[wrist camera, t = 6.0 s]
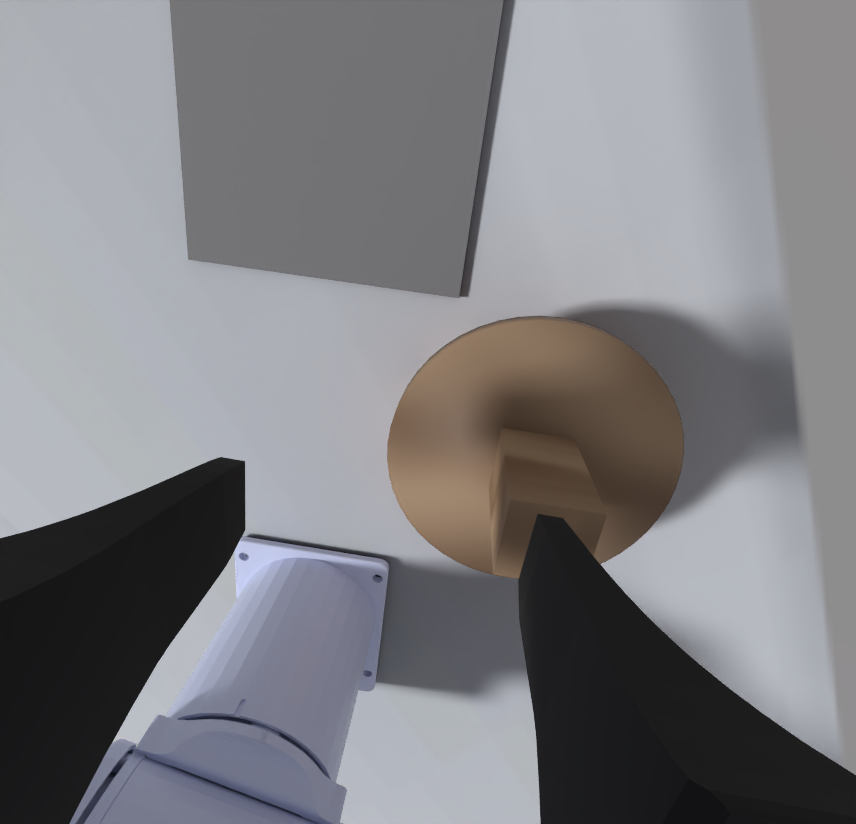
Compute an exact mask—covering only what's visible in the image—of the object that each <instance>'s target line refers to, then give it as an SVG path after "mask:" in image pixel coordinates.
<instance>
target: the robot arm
mask: <svg viewBox="0 0 856 824" xmlns="http://www.w3.org/2000/svg"><path fill="white" fill-rule="evenodd" d="M244 531H245V461H240V460H234V459H228V458H223V457H220V458H217V459H214V460H211V461H209V462H206V463H204V464H202V465H199V466H197V467H195V468H192V469H190V470H188V471H186V472H183V473H181V474H179V475H177V476H174V477H172V478H170V479H167V480H165V481H163V482H161V483H158V484H156V485H154V486H152V487H149V488H147V489H145V490H142V491H140V492H137V493H135V494H132V495H130V496H127V497H125V498H122V499H120V500H117V501H115V502H112V503H110V504H107V505H105V506H102V507H100V508H97V509H95V510H92V511H89V512H86V513H84V514H81V515H78V516H75V517H72V518H69V519H66V520H63V521H60V522H56V523H53V524H50V525H47V526H44V527H41V528H37V529H34V530H30V531H27V532H23V533H19V534H15V535H12V536H8V537H4V538H0V824H342V823H340V819H341V814H342V809H343V805H344V800H345V796H346V791H347V790H346V788H345V787H343V786H341V785H339V784H337V783H336V779H337V775H338V771H339V767H340V763H341V759H342V755H343V751H344V747H345V743H346V738H347V734H348V730H349V726H350V722H351V718H352V714H353V710H354V706H355V702H356V697H357V693H358V690H362V691H371V690H373V689H374V687H375V683H376V675H377V667H378V658H379V650H380V641H381V633H382V625H383V616H384V608H385V599H386V591H387V582H388V574H389V565H388V563H387V562H386V561H385V560H383V559H379V558H373V557H366V556H360V555H354V554H348V553H342V552H336V551H330V550H324V549H317V548H311V547H305V546H299V545H293V544H287V543H281V542H275V541H268V540H262V539H256V538H250V537H242V535H243V533H244ZM234 551H235V571H236V593H237V600H236V602H235V603H234V605H233V607H232V608H231V610H230V611H229V613H228V615H227V616H226V618H225V620H224V621H223V623H222V624H221V626H220V628H219V629H218V631H217V633H216V634H215V636H214V638H213V639H212V641H211V642H210V644H209V646H208V647H207V649H206V651H205V652H204V654H203V656H202V657H201V659H200V660H199V662H198V664H197V665H196V667H195V669H194V670H193V672H192V673H191V675H190V677H189V678H188V680H187V682H186V683H185V685H184V687H183V688H182V690H181V691H180V693H179V695H178V696H177V698H176V700H175V701H174V703H173V704H172V706H171V708H170V709H169V711H168V713H167V714H166V716H163V715H157V716H156V717H155V719H154V720H153V722H152V723H151V725H150V727H149V728H148V730H147V731H146V733H145V735H144V736H143V738H142V739H141V741H140V742H139V744H138V746H137V747H136V744H135V743H133V742H130V741H127V740H125V739H119V740H117V741H115V742H113V740H114V738H115V736H116V735H117V733H118V731H119V729H120V727H121V726H122V724H123V722H124V720H125V718H126V716H127V715H128V713H129V711H130V709H131V707H132V706H133V704H134V702H135V701H136V699H137V697H138V695H139V694H140V692H141V690H142V689H143V687H144V685H145V683H146V682H147V680H148V678H149V677H150V675H151V673H152V671H153V670H154V668H155V666H156V665H157V663H158V661H159V660H160V658H161V657H162V655H163V654H164V652H165V651H166V649H167V648H168V646H169V645H170V643H171V642H172V641H173V639H174V638H175V636H176V635H177V634H178V632H179V631H180V630H181V628H182V627H183V625H184V624H185V623H186V621H187V620H188V618H189V617H190V616H191V614H192V613H193V612H194V610H195V609H196V607H197V606H198V605H199V603H200V602H201V600H202V599H203V598H204V596H205V595H206V594H207V592H208V591H209V589H210V588H211V586H212V585H213V584H214V582H215V581H216V579H217V578H218V577H219V575H220V574H221V572H222V571H223V569H224V568H225V567H226V565H227V563H228V561H229V560H230V558H231V556H232V554H233V552H234ZM243 553H246V554H247V555H248V556H247V555H244V554H243ZM375 575H380V576H381V577H376V576H375ZM519 619H520V626H521V633H522V640H523V647H524V653H525V660H526V666H527V673H528V679H529V686H530V692H531V699H532V705H533V712H534V720H535V729H536V739H537V757H538V774H539V793H540V817H541V824H856V775H854V774H853V773H851V772H850V771H848V770H846V769H845V768H843V767H842V766H840V765H839V764H837V763H835V762H834V761H832V760H831V759H829V758H828V757H826V756H824V755H823V754H821V753H820V752H818V751H817V750H815V749H813V748H812V747H810V746H809V745H807V744H806V743H804V742H802V741H801V740H800V739H798V738H797V737H795V736H794V735H792V734H791V733H789V732H788V731H787V730H785V729H784V728H782V727H781V726H779V725H778V724H777V723H775V722H774V721H772V720H771V719H770V718H768V717H767V716H765V715H764V714H763V713H761V712H760V711H758V710H757V709H756V708H754V707H753V706H752V705H750V704H749V703H748V702H746V701H745V700H744V699H742V698H741V697H740V696H738V695H737V694H736V693H734V692H733V691H732V690H730V689H729V688H728V687H727V686H725V685H724V684H723V683H722V682H720V681H719V680H718V679H717V678H715V677H714V676H713V675H712V674H711V673H709V672H708V671H707V670H706V669H704V668H703V667H702V666H701V665H699V664H698V663H697V662H696V661H695V660H694V659H692V658H691V657H690V656H689V655H688V654H687V653H685V652H684V651H683V650H682V649H681V648H680V647H679V646H678V645H677V644H676V643H675V642H673V641H672V640H671V639H670V638H669V637H668V636H667V635H666V634H665V633H664V632H663V631H662V630H661V629H659V628H658V627H657V626H656V625H655V624H654V623H653V622H652V621H651V620H650V619H649V618H648V617H647V616H646V615H645V614H644V613H643V612H642V611H641V610H640V609H639V607H638V606H637V605H636V604H635V603H634V602H633V601H632V600H631V599H630V598H629V597H628V596H627V595H626V594H625V593H624V591H623V590H622V589H621V588H620V587H619V586H618V585H617V584H616V582H615V581H614V580H613V579H612V578H611V577H610V575H609V574H608V573H607V572H606V571H605V570H604V568H603V567H602V566H601V565H600V564H599V562H598V561H597V560H596V559H595V557H594V556H593V555H592V554H591V552H590V551H589V550H588V549H587V547H586V546H585V545H584V544H583V542H582V541H581V540H580V539H579V537H578V536H577V535H576V534H575V532H574V531H573V530H572V528H571V527H570V526H569V525H568V524H567V522H566V521H565V520H564V519H563V518H559V517H554V516H548V515H543V514H537V517H536V521H535V524H534V528H533V531H532V535H531V538H530V541H529V545H528V548H527V552H526V555H525V559H524V562H523V566H522V569H521V572H520V576H519ZM367 670H368V671H367ZM112 742H113V743H112Z"/></svg>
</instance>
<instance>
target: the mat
mask: <svg viewBox="0 0 856 824" xmlns="http://www.w3.org/2000/svg"><path fill="white" fill-rule="evenodd" d="M503 1H504V0H170V11H171V25H172V39H173V53H174V66H175V80H176V94H177V108H178V122H179V136H180V150H181V164H182V178H183V192H184V206H185V220H186V234H187V247H188V259H189V260H196V261H203V262H210V263H217V264H224V265H231V266H238V267H245V268H252V269H259V270H266V271H273V272H280V273H287V274H294V275H301V276H308V277H315V278H322V279H329V280H336V281H343V282H350V283H357V284H364V285H371V286H378V287H385V288H392V289H399V290H406V291H413V292H420V293H427V294H434V295H441V296H448V297H455V298H459V296H460V289H461V282H462V276H463V269H464V262H465V255H466V249H467V242H468V235H469V229H470V222H471V215H472V209H473V202H474V195H475V189H476V182H477V175H478V168H479V162H480V155H481V148H482V142H483V135H484V128H485V122H486V115H487V108H488V102H489V95H490V88H491V81H492V75H493V68H494V61H495V55H496V48H497V41H498V35H499V28H500V21H501V15H502V8H503Z"/></svg>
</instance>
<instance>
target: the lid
mask: <svg viewBox="0 0 856 824" xmlns="http://www.w3.org/2000/svg"><path fill="white" fill-rule="evenodd" d="M683 455H684V436H683V430H682V424H681V418H680V415H679V412H678V409H677V406H676V403H675V401H674V399H673V397H672V395H671V393H670V391H669V389H668V387H667V385H666V384H665V383H664V381H663V380H662V379H661V377H660V376H659V375H658V373H657V372H656V371H655V369H654V368H653V367H652V366H651V365H650V364H649V363H648V362H647V361H646V360H645V359H644V358H642V357H641V356H640V355H639V354H638V353H637V352H636V351H635V350H634V349H632V348H631V347H630V346H628V345H627V344H625V343H624V342H623V341H621V340H620V339H619V338H617V337H615V336H613V335H611V334H609V333H607V332H606V331H604V330H602V329H600V328H597V327H594V326H591V325H589V324H586V323H583V322H580V321H575V320H570V319H566V318H561V317H548V316H528V317H516V318H511V319H505V320H499V321H496V322H493V323H490V324H487V325H483V326H480V327H478V328H476V329H473V330H471V331H469V332H467V333H465V334H463V335H461V336H459V337H457V338H456V339H454V340H453V341H451V342H450V343H448V344H446V345H445V346H444V347H442V348H441V349H440V350H439V351H438V352H436V353H435V354H434V355H433V356H432V357H430V358H429V359H428V360H427V362H426V363H425V364H424V365H423V366H422V367H421V368H420V369H419V370H418V371H417V373H416V374H415V376H414V377H413V379H412V380H411V381H410V383H409V384H408V386H407V388H406V390H405V392H404V394H403V396H402V398H401V400H400V402H399V404H398V407H397V409H396V412H395V415H394V418H393V421H392V424H391V428H390V433H389V439H388V453H387V461H388V469H389V477H390V480H391V484H392V488H393V491H394V494H395V496H396V498H397V501H398V503H399V505H400V507H401V509H402V510H403V512H404V514H405V516H406V517H407V519H408V520H409V521H410V523H411V524H412V525H413V527H414V528H415V529H416V530H417V532H418V533H419V534H420V535H421V536H423V537H424V538H425V539H426V540H427V541H428V542H429V543H430V544H431V545H432V546H434V547H435V548H436V549H438V550H439V551H440V552H442V553H443V554H445V555H447V556H448V557H450V558H452V559H453V560H455V561H457V562H459V563H461V564H463V565H466V566H468V567H470V568H473V569H476V570H479V571H482V572H485V573H488V574H493V575H498V576H502V577H510V578H518V579H519V576H520V572H521V569H522V566H523V562H524V559H525V555H526V552H527V548H528V545H529V541H530V538H531V535H532V531H533V528H534V524H535V521H536V517H537V514H543V515H548V516H554V517H559V518H563V519H564V520H565V521H566V522H567V524H568V525H569V526H570V527H571V528H572V530H573V531H574V532H575V534H576V535H577V536H578V537H579V539H580V540H581V541H582V542H583V544H584V545H585V546H586V547H587V549H588V550H589V551H590V552H591V554H592V555H593V556H594V557H595V559H596V560H597V561H598V562H599V564H601V563H603V562H606V561H607V560H609V559H611V558H613V557H614V556H616V555H618V554H620V553H621V552H623V551H624V550H625V549H627V548H628V547H630V546H631V545H632V544H634V543H635V542H636V541H637V540H638V539H639V538H641V537H642V536H643V535H644V534H645V533H646V532H647V531H648V530H649V529H650V528H651V527H652V525H653V524H654V523H655V522H656V521H657V520H658V518H659V517H660V515H661V514H662V512H663V511H664V509H665V508H666V506H667V505H668V503H669V501H670V499H671V497H672V495H673V493H674V490H675V488H676V486H677V482H678V479H679V476H680V473H681V468H682V461H683Z"/></svg>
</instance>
